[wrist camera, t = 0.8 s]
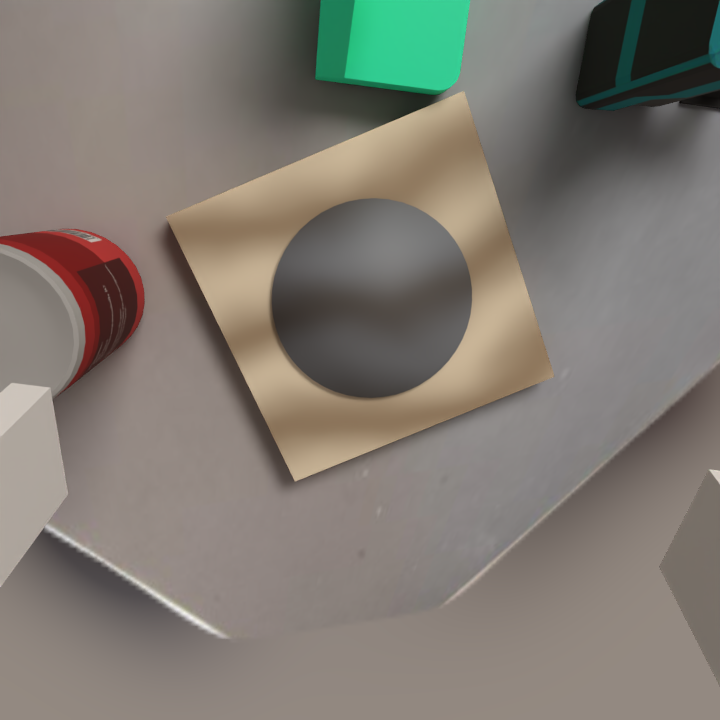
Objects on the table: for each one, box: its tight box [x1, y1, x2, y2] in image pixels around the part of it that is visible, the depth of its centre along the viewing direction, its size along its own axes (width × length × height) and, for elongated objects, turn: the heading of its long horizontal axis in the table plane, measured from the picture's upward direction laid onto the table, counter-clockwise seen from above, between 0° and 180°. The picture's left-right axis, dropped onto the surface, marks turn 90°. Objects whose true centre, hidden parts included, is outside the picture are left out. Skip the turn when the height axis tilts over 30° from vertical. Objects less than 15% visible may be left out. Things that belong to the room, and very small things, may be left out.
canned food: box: [0, 229, 144, 399], centre depth 30 cm, size 8×8×11 cm
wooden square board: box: [166, 91, 554, 481], centre depth 36 cm, size 18×18×2 cm
